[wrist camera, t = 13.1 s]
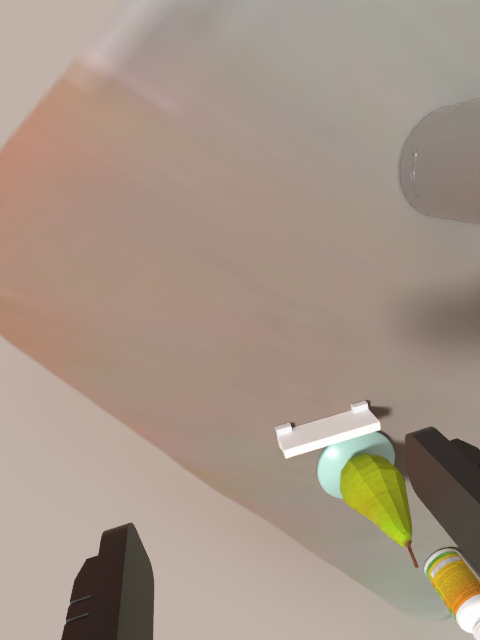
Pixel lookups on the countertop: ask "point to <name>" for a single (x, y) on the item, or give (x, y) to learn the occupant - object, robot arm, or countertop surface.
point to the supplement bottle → (456, 587)
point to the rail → (327, 430)
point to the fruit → (378, 496)
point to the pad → (341, 452)
